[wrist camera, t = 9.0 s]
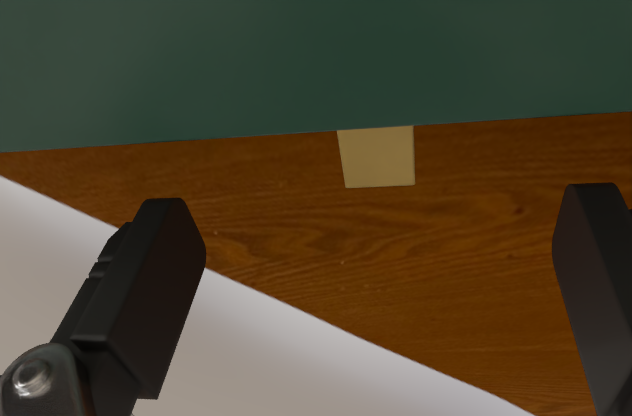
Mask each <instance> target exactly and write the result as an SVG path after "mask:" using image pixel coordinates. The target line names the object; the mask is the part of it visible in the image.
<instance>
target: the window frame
mask: <svg viewBox="0 0 632 416" xmlns="http://www.w3.org/2000/svg"><path fill="white" fill-rule="evenodd" d="M630 111H632V0H0V153H2V152H17V151H33V150H48V149H63V148H79V147H94V146H109V145H125V144H140V143H155V142H171V141H186V140H201V139H217V138H232V137H247V136H263V135H278V134H293V133H309V132H324V131H339V130H355V129H370V128H385V127H400V126H416V125H431V124H446V123H462V122H477V121H492V120H508V119H523V118H538V117H554V116H569V115H584V114H600V113H615V112H630Z"/></svg>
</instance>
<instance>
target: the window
mask: <svg viewBox="0 0 632 416" xmlns="http://www.w3.org/2000/svg"><path fill="white" fill-rule="evenodd" d="M337 135H338V141H339V148H340V154H341V161H342V167H343V174H344V180H345V186H346V188H356V187H380V186H404V185H414V184H415V162H414V126H400V127H385V128H370V129H355V130H339V131H337Z"/></svg>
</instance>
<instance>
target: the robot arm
mask: <svg viewBox="0 0 632 416" xmlns="http://www.w3.org/2000/svg"><path fill="white" fill-rule="evenodd" d="M552 258H553V264H554V268H555V272H556V275H557V279H558V282H559V286H560V289H561V293H562V296H563V299H564V303H565V306H566V310H567V313H568V316H569V320H570V323H571V327H572V330H573V334H574V337H575V340H576V344H577V347H578V351H579V354H580V358H581V361H582V364H583V368H584V371H585V375H586V378H587V381H588V385H589V388H590V392H591V395H592V399H593V402H594V405H595V409H596V412H597V416H632V209H629V210H628V208H627V206H626V204H625V201H624V199H623V197H622V195H621V193H620V191H619V189H618V187H617V186H616V185H615V184H614V183H585V184H569V185H568V186H567V187H566V189H565V192H564V196H563V200H562V204H561V208H560V211H559V215H558V219H557V223H556V227H555V231H554V235H553V240H552ZM205 264H206V248H205V244H204V241H203V239H202V237H201V235H200V233H199V231H198V228H197V226H196V224H195V222H194V220H193V218H192V216H191V214H190V212H189V210H188V207H187V205H186V203H185V202H184V201H183V200H182V199H181V198H157V199H147V200H145V201H144V202H143V203H142V205H141V207H140V209H139V210H138V212H137V214H136V216H135V218H134V220H133V222H126V223H125V224H124V225H123V226H122V227H121V228H120V229H119V230H118V231H117V232H116V233H115V234H113V236H111V237H110V238H109V239H108V241H107V243H106V245H105V246H104V248H103V250H102V252H101V254H100V255H99V257H98V262H96V263H95V264H94V266H93V267H92V269H91V271H90V273H89V278H86V280H85V282H84V283H83V285H82V287H81V289H80V290H79V292H78V294H77V296H76V297H75V299H74V301H73V303H72V305H71V306H70V308H69V310H68V312H67V313H66V315H65V317H64V319H63V320H62V322H61V324H60V325H59V327H58V329H57V331H56V332H55V334H54V336H53V338H52V339H51V341H50V342H49V343H46V344H42V345H39V346H36V347H34V348H32V349H30V350H28V351H27V352H25V353H23V354H22V355H21V356H19V357H18V358H17V359H16V360H15V361H13V362H12V364H11V365H10V366H9V367H8V368H7V369H6V371H5V372H4V373H3V375H0V416H134V415H133V414H132V410H133V408H134V405H135V403H136V400H137V399H156V400H157V399H158V396H159V393H160V391H161V388H162V385H163V382H164V379H165V377H166V374H167V371H168V368H169V366H170V363H171V360H172V357H173V354H174V352H175V349H176V346H177V343H178V341H179V338H180V335H181V332H182V329H183V327H184V324H185V321H186V318H187V315H188V313H189V310H190V307H191V304H192V301H193V299H194V296H195V293H196V290H197V287H198V285H199V282H200V279H201V277H202V274H203V271H204V268H205Z"/></svg>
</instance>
